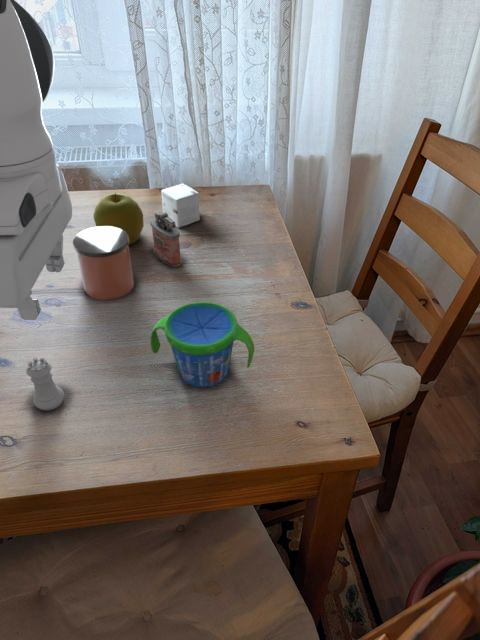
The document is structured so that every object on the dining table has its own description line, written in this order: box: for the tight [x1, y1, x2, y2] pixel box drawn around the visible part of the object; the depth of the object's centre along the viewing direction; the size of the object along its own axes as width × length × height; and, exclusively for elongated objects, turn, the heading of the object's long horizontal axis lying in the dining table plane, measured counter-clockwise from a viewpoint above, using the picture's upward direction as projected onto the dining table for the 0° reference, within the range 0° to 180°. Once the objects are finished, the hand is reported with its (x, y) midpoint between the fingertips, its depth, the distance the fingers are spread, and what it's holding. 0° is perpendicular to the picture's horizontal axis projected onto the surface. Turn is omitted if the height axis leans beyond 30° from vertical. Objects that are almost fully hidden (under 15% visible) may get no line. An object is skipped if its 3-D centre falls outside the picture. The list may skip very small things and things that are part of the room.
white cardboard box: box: [160, 183, 201, 229], centre depth 115 cm, size 6×6×7 cm
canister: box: [72, 226, 135, 300], centre depth 94 cm, size 9×9×10 cm
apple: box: [92, 192, 145, 246], centre depth 107 cm, size 10×10×11 cm
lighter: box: [149, 210, 183, 267], centre depth 103 cm, size 8×3×10 cm, turn 40°
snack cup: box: [150, 301, 255, 388], centre depth 79 cm, size 16×10×10 cm
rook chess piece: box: [25, 357, 65, 411], centre depth 73 cm, size 4×4×8 cm
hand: (44, 291), depth 61 cm, fingers open, 8 cm apart
